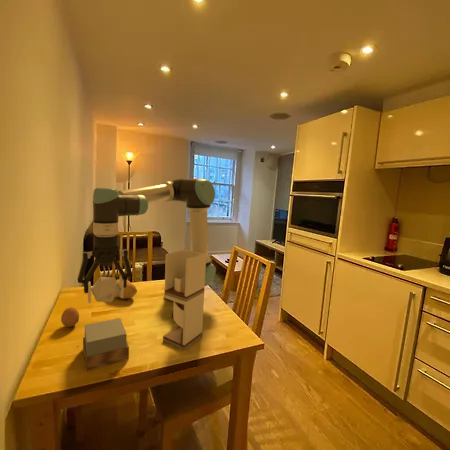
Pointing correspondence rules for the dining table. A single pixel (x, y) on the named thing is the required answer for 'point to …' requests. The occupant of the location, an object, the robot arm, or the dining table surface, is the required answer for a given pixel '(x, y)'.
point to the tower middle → (104, 336)
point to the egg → (70, 317)
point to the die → (105, 289)
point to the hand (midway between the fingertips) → (105, 298)
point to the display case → (185, 295)
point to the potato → (127, 290)
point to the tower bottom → (105, 357)
